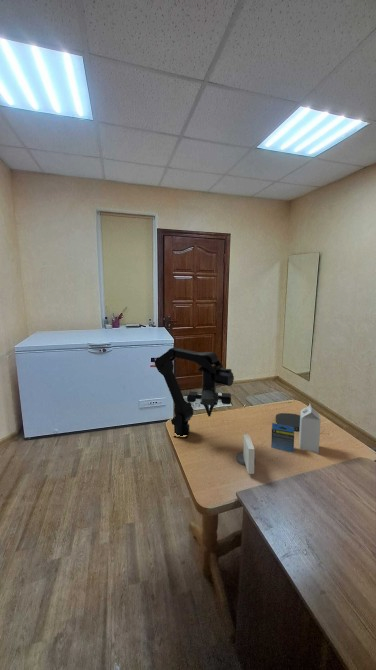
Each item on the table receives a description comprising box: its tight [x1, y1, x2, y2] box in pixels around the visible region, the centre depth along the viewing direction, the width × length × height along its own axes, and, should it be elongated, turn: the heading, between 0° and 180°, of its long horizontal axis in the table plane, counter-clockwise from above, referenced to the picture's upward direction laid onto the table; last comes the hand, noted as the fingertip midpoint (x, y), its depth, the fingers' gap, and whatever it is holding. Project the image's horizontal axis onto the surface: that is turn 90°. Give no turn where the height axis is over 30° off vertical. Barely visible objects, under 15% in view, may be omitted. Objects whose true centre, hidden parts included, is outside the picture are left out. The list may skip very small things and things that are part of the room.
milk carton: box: [298, 404, 321, 455], centre depth 112 cm, size 7×7×19 cm
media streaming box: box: [275, 412, 300, 432], centre depth 136 cm, size 15×15×3 cm
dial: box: [236, 433, 256, 475], centre depth 101 cm, size 14×7×11 cm, turn 179°
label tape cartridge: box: [270, 422, 295, 453], centre depth 112 cm, size 9×4×12 cm, turn 65°
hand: (209, 416), depth 117 cm, fingers closed
